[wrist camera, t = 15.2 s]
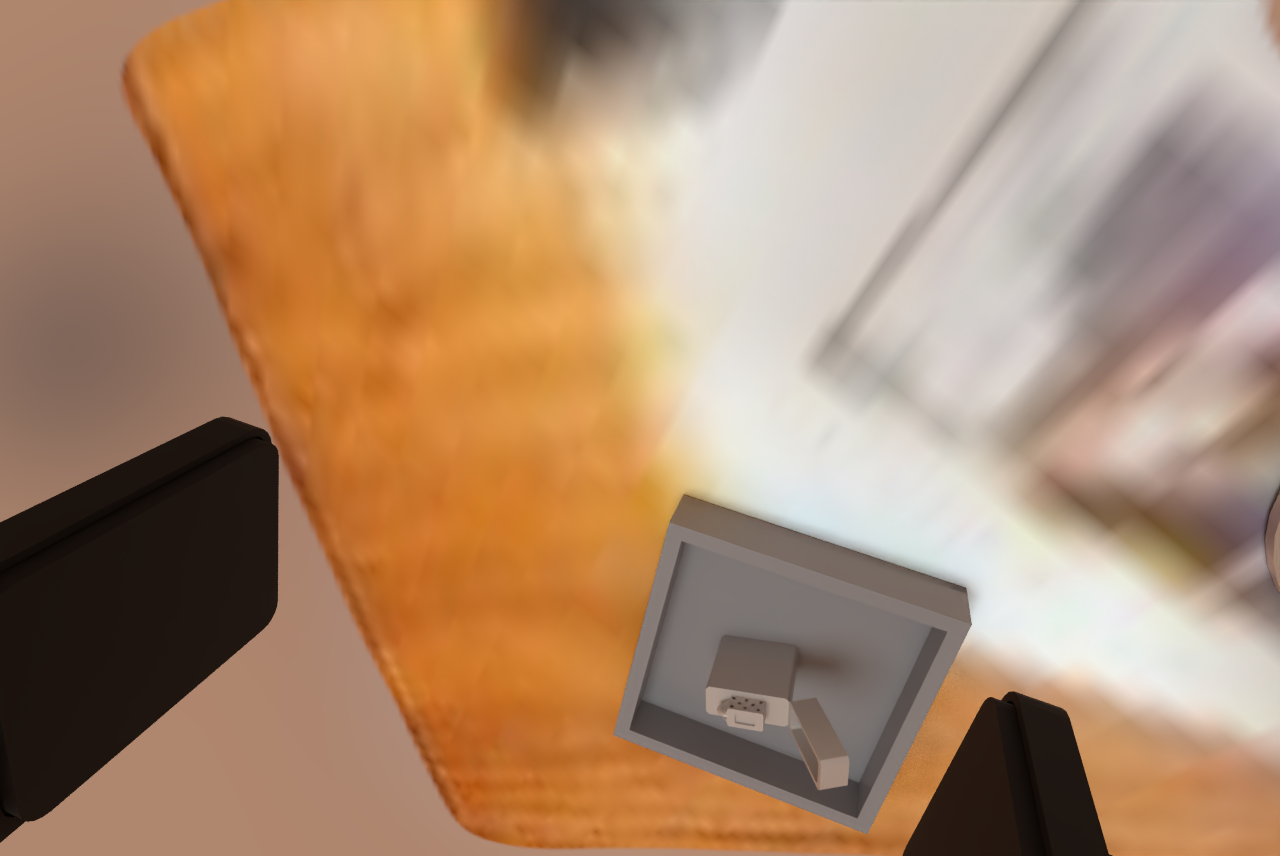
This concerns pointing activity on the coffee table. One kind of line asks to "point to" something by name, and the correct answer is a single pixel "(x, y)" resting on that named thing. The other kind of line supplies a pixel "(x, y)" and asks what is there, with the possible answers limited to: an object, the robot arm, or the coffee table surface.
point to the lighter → (774, 703)
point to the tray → (827, 654)
